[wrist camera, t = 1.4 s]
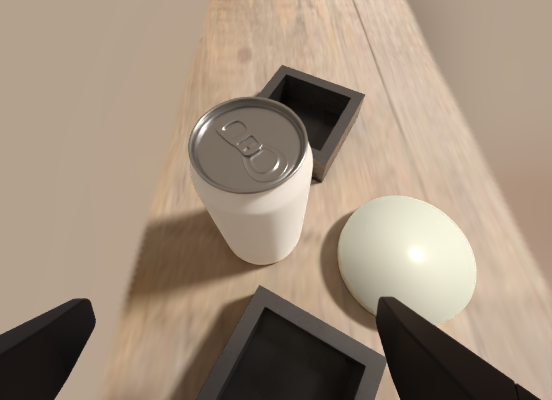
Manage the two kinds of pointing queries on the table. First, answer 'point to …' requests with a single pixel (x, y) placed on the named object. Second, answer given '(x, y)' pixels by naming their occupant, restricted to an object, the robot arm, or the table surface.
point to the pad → (407, 258)
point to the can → (253, 175)
